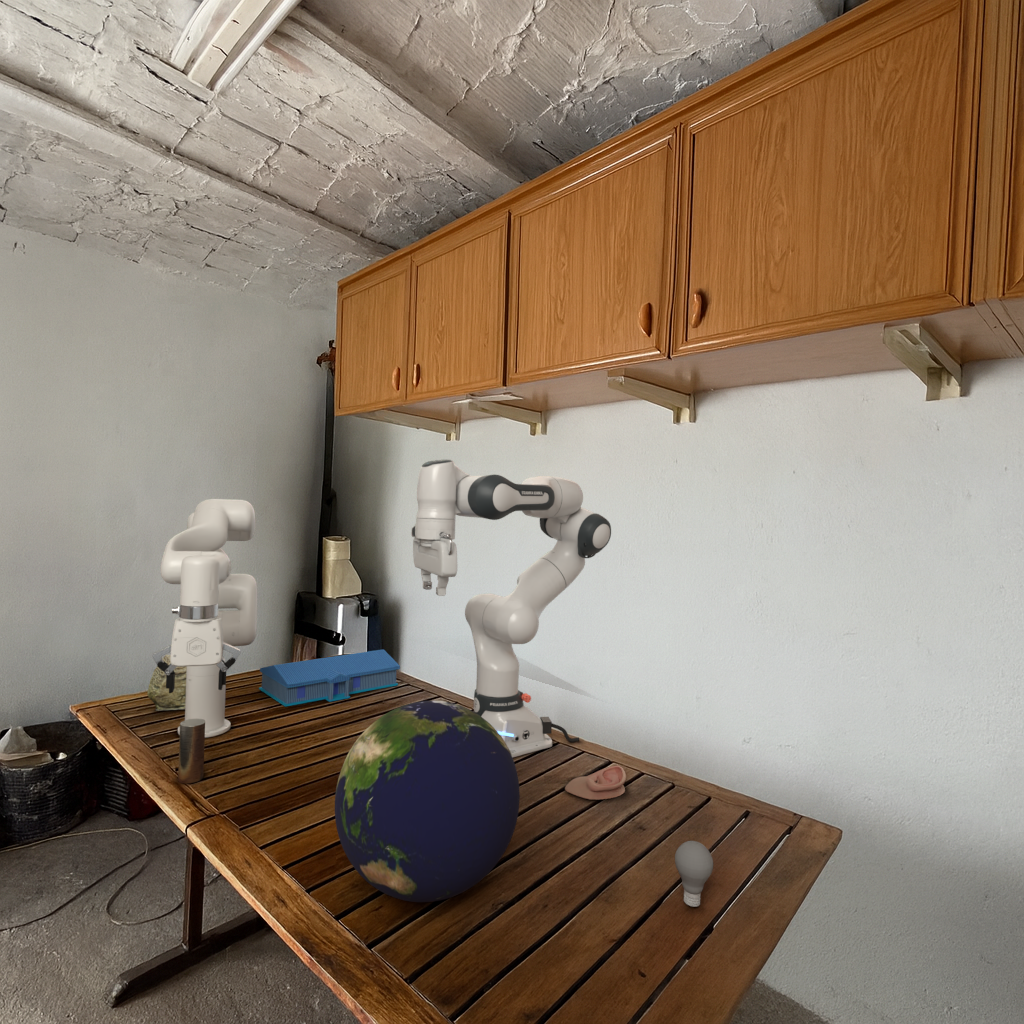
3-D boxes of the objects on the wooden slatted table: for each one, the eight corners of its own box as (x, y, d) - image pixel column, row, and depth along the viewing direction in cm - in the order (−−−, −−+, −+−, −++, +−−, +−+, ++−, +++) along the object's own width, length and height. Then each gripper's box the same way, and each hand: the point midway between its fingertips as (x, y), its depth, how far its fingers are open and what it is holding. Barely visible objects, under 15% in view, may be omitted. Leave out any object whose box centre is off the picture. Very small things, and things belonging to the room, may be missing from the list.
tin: (179, 785, 136) (181, 727, 136) (176, 776, 140) (178, 720, 140) (204, 780, 139) (206, 724, 139) (201, 772, 143) (203, 717, 143)
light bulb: (667, 892, 105) (670, 833, 105) (702, 892, 106) (705, 833, 106) (680, 916, 99) (683, 853, 99) (717, 916, 100) (720, 853, 100)
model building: (289, 709, 186) (291, 675, 185) (258, 688, 204) (259, 657, 204) (403, 687, 212) (405, 657, 212) (366, 670, 230) (368, 643, 230)
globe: (289, 913, 96) (297, 717, 96) (396, 823, 124) (403, 671, 123) (466, 976, 85) (475, 755, 84) (540, 862, 113) (548, 695, 112)
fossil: (144, 707, 182) (145, 655, 182) (212, 696, 194) (213, 647, 194) (151, 716, 175) (153, 662, 175) (221, 703, 188) (223, 653, 188)
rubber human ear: (563, 778, 138) (569, 757, 150) (563, 796, 138) (569, 774, 150) (625, 786, 136) (626, 764, 147) (624, 804, 136) (625, 781, 147)
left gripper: (151, 616, 132) (148, 698, 132) (241, 614, 138) (238, 692, 138) (156, 609, 139) (154, 687, 139) (242, 608, 145) (239, 682, 145)
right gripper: (465, 534, 135) (463, 599, 135) (434, 528, 153) (432, 585, 154) (437, 534, 132) (435, 600, 132) (409, 528, 151) (407, 586, 151)
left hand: (196, 689), depth 139 cm, fingers open, 9 cm apart
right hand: (433, 592), depth 143 cm, fingers open, 8 cm apart
